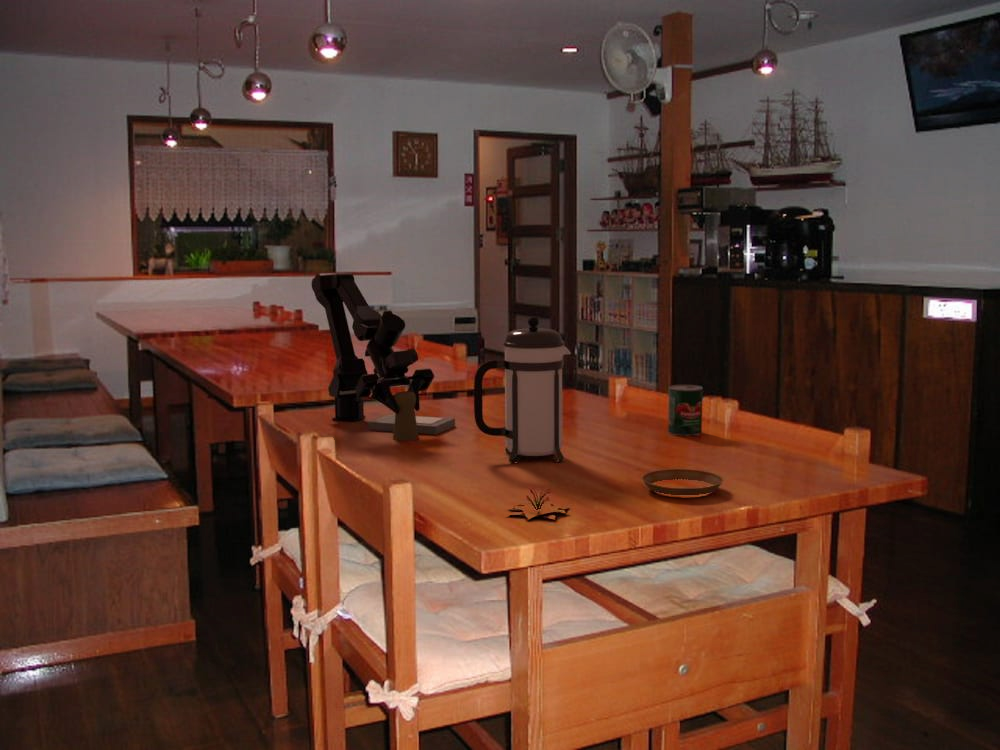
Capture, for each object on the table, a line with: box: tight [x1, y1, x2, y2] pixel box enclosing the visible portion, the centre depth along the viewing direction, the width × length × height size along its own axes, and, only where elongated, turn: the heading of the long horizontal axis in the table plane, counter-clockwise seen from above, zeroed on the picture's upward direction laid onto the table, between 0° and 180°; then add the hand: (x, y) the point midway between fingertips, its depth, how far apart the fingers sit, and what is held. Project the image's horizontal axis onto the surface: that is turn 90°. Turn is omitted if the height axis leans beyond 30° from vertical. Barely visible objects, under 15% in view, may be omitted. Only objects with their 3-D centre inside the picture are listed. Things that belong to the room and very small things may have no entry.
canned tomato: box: [667, 384, 704, 437], centre depth 238 cm, size 8×8×11 cm
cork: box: [392, 390, 420, 442], centre depth 235 cm, size 6×6×11 cm
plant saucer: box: [641, 468, 724, 495], centre depth 186 cm, size 15×15×3 cm
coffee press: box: [473, 316, 571, 464], centre depth 212 cm, size 17×16×30 cm
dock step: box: [368, 413, 456, 436], centre depth 247 cm, size 18×11×2 cm, turn 68°
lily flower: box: [513, 487, 564, 515], centre depth 172 cm, size 12×12×5 cm
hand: (408, 411), depth 233 cm, fingers open, 5 cm apart
